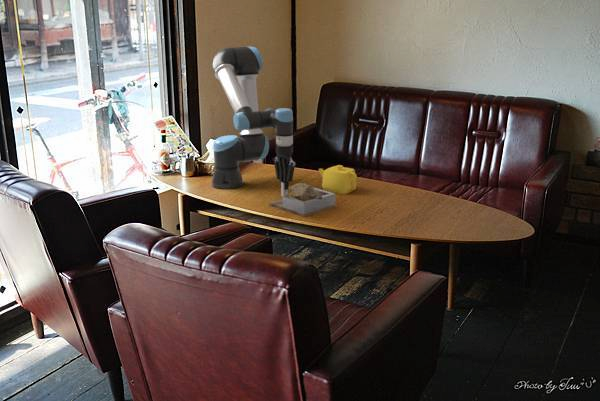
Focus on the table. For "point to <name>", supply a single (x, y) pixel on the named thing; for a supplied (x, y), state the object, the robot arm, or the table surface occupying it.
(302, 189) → the rock
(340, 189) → the teapot
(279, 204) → the cradle board
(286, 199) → the cradle rails
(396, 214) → the table surface
